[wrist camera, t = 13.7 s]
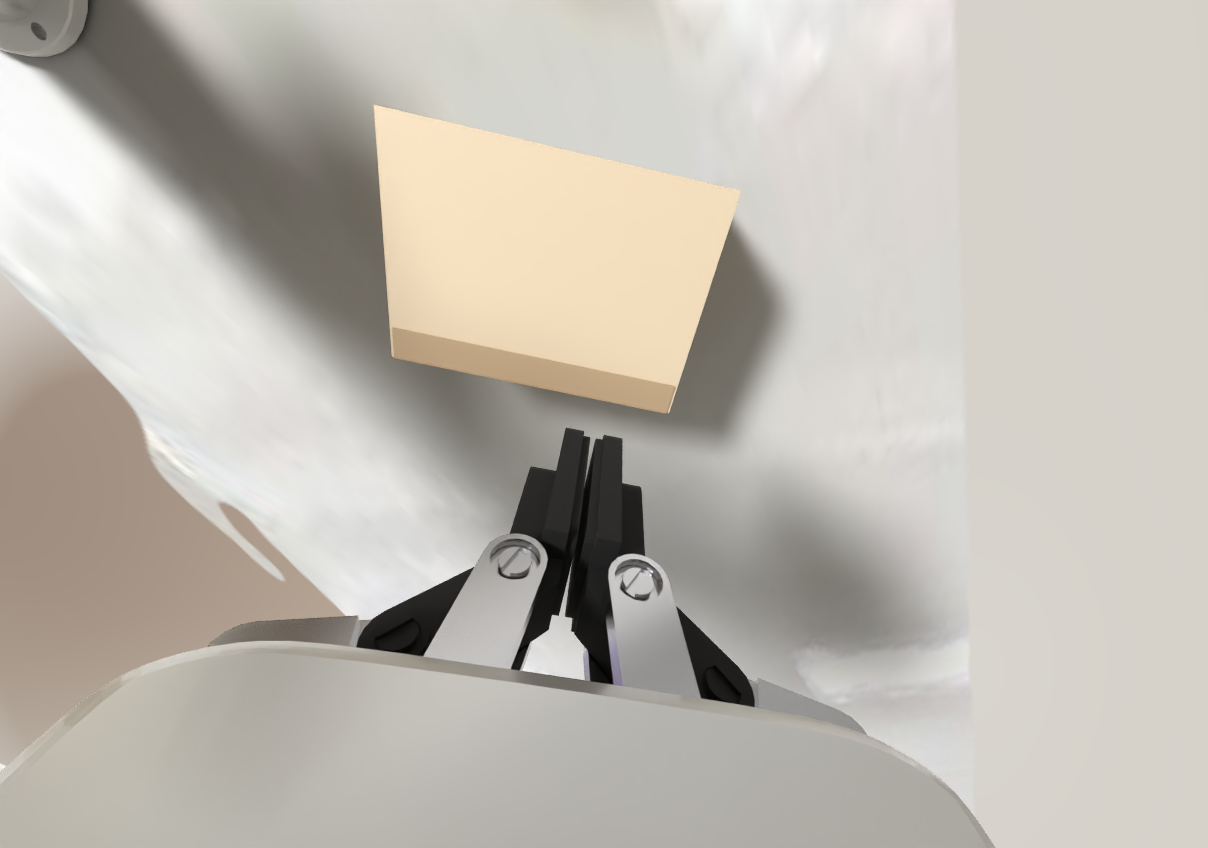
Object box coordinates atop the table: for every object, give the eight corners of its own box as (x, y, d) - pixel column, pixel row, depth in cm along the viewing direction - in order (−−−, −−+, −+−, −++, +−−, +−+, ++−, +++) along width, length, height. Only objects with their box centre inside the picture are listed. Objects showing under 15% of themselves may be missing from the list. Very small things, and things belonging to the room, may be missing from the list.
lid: (395, 353, 27) (390, 357, 27) (379, 105, 20) (372, 104, 20) (668, 409, 28) (669, 414, 28) (739, 190, 21) (741, 191, 21)
